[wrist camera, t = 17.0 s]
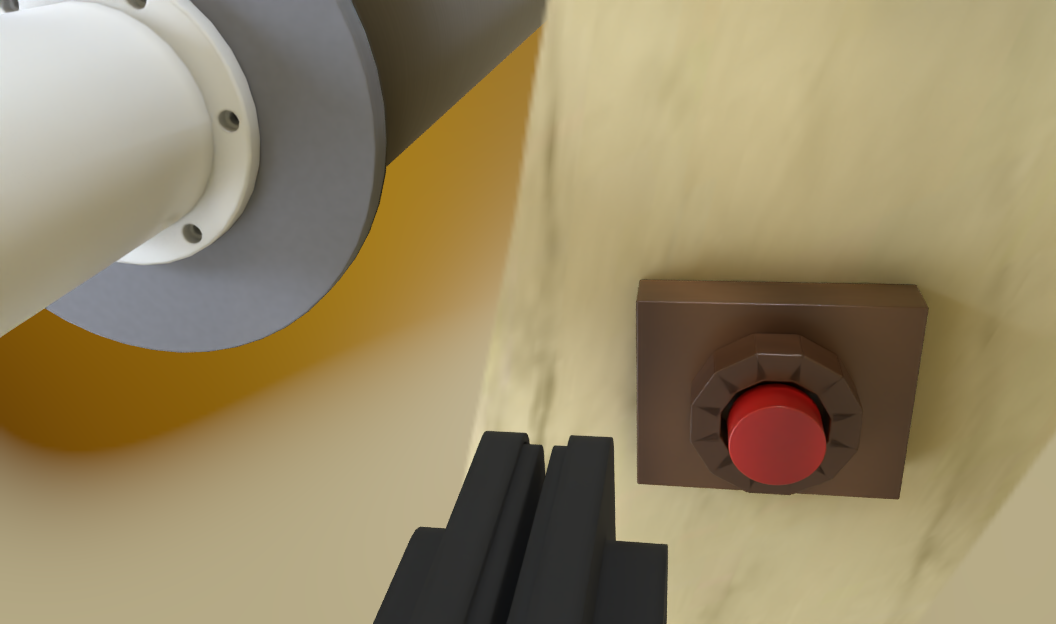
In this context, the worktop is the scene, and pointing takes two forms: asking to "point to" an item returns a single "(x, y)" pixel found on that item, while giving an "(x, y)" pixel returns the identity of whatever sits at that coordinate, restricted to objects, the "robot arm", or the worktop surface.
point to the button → (776, 434)
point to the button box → (777, 377)
